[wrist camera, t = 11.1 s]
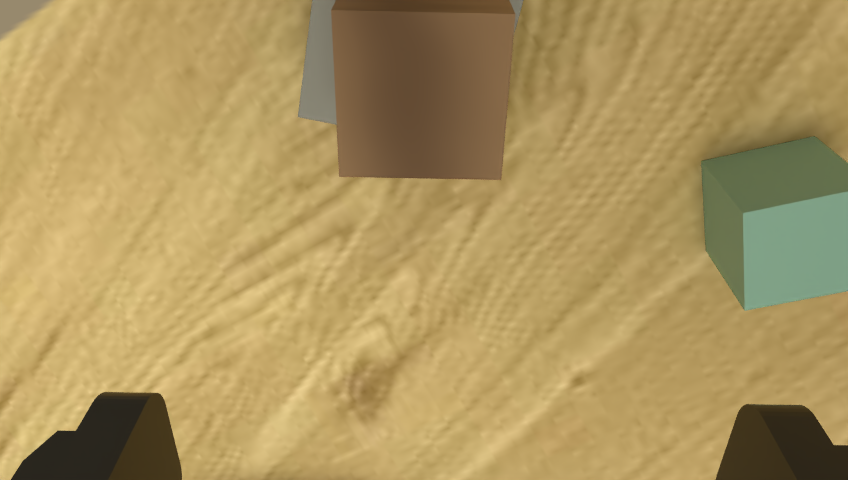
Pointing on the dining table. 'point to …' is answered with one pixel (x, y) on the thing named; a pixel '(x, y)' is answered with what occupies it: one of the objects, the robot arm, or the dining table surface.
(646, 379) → the dining table surface
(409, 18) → the walnut cube
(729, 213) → the teal cube
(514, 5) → the grey base block
